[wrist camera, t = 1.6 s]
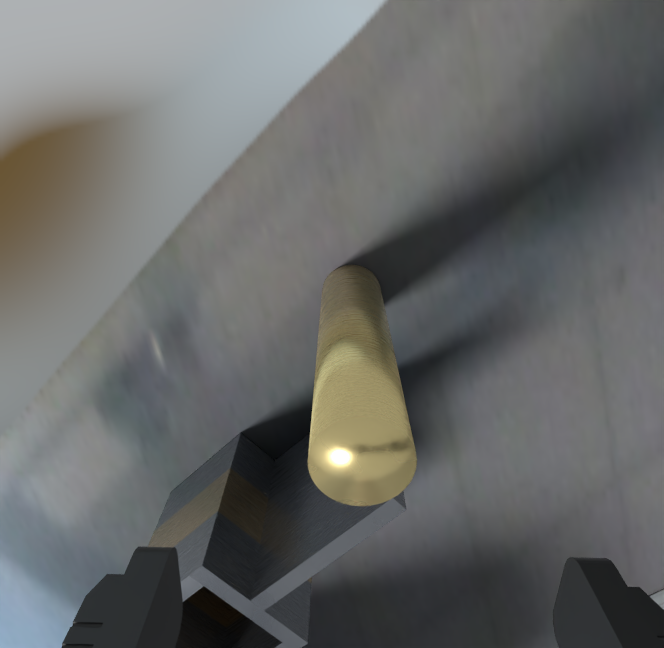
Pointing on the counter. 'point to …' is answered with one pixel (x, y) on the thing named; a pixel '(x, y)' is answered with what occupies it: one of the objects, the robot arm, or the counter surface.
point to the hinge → (257, 545)
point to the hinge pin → (358, 397)
